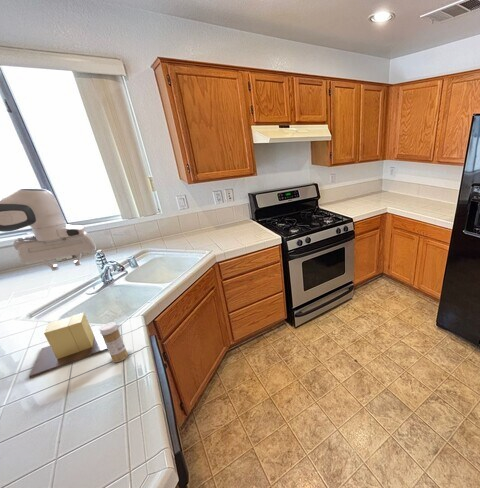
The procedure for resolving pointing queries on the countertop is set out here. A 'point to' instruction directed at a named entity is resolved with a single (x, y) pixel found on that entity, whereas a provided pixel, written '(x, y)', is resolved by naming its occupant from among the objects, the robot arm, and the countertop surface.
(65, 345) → the butter block
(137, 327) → the countertop surface
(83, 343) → the butter slice
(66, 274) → the countertop surface
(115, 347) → the sprinkles bottle
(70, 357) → the walnut board
